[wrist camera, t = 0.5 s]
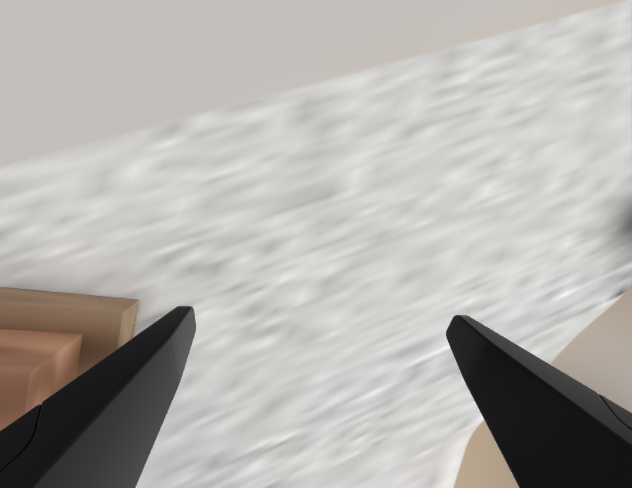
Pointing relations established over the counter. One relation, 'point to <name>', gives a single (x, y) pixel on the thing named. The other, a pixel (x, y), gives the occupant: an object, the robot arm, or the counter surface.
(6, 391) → the block on square base
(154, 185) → the counter surface
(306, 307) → the counter surface
